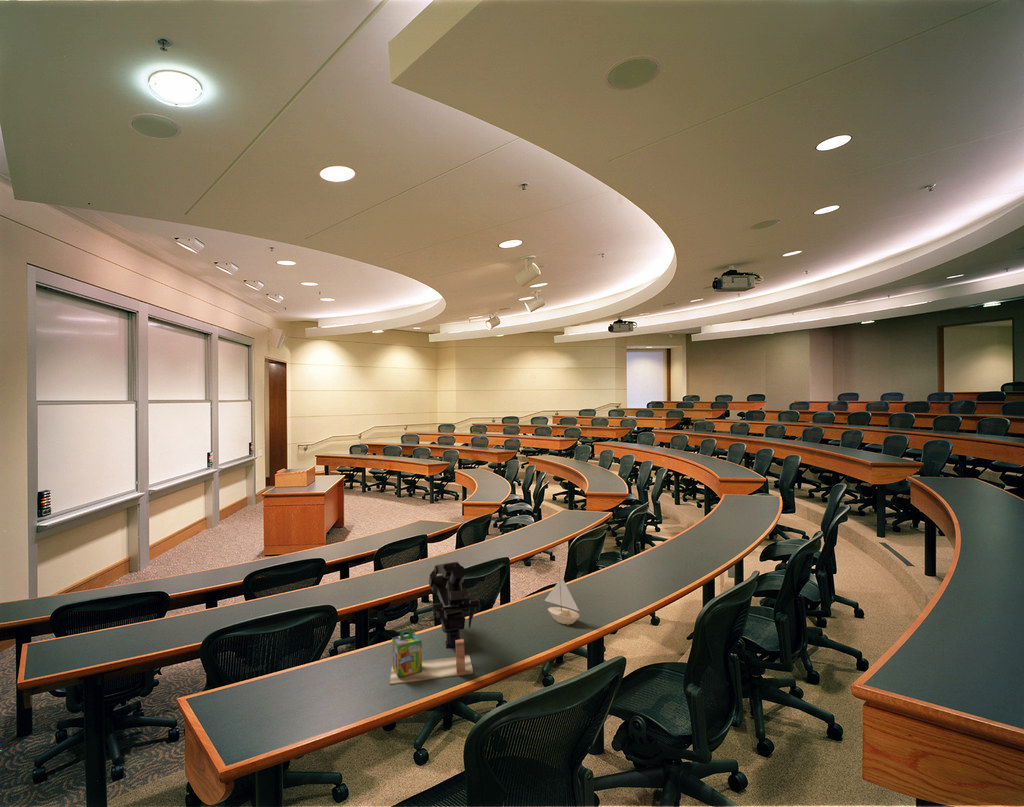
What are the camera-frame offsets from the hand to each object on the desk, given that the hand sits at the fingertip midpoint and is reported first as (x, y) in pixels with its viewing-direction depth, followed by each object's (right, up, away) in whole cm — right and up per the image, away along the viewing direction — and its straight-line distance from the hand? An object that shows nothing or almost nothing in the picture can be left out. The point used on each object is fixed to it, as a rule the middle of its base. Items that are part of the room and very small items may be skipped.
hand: (457, 629), depth 187 cm
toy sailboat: (+44, -14, +36) cm, 59 cm away
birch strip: (-9, -13, -5) cm, 17 cm away
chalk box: (-18, -13, -6) cm, 23 cm away
